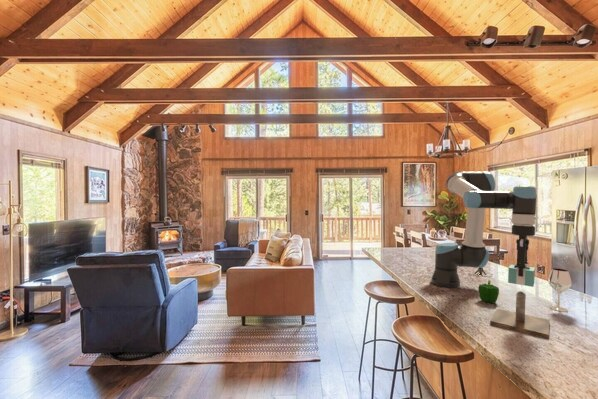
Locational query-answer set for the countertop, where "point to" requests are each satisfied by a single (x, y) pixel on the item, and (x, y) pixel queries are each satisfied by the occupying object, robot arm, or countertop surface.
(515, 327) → the post board
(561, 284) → the wineglass
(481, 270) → the eiffel tower figurine
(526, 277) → the bead
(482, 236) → the robot arm
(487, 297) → the bell pepper
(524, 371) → the countertop surface
